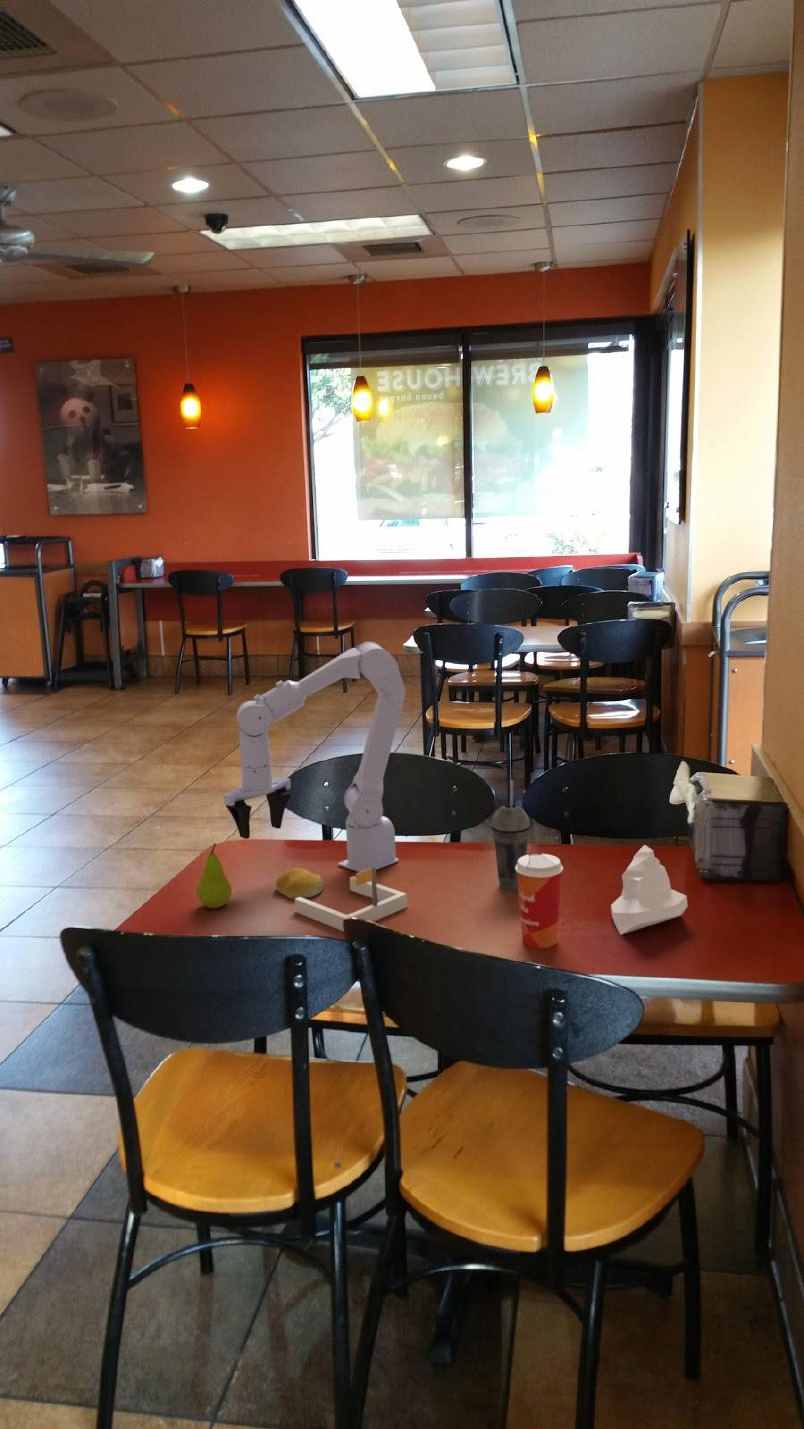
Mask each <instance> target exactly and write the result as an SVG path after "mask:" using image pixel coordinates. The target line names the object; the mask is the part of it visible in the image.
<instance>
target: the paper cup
mask: <svg viewBox="0 0 804 1429" xmlns="http://www.w3.org/2000/svg"><path fill="white" fill-rule="evenodd" d="M515 870H516V871H517V875H518V888H519V889H518V900H519V902H518V903H519V913H520V924H521V925H520V926H521V928H520V929H521V936H522V943H523V945H525V946H526V947H529V948H531V949H539V950H540V949H541V950H544V949H549V948H552V946H553V947H554V946H557V945H556V944H557V943H558V934H559V919H560V916H559V915H560V903H561V902H560V901H561V899H560V898H561V882H562V881H561V880H562V872H563V871H564V867H563V864H561V860H560V858H558V857H557V856H556V855H555V856H554V855H552V854H547V853H541V854H539V853H537V854H536V853H535V854H534V853H533V854H531V855H529V854H527V855H525V856H522V857H521V858H519V860H518V863H517V865H516V867H515Z"/></svg>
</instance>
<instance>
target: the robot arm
mask: <svg viewBox="0 0 804 1429" xmlns="http://www.w3.org/2000/svg"><path fill="white" fill-rule="evenodd" d="M360 673H361V674H362V675H363V676H364V677H365V678H366V679H367V680H369V681H370V683H371V686H373V688H374V690H375V691H376V692H377V700H376V703H375V706H374V710H373V715H372V718H371V722H370V725H369V726H370V727H369V730H368V734H367V738H366V741H365V745H364V748H363V754H362V755H361V756H362V758H361V760H360V764H359V768H358V771H357V773H356V774H355V775H354V777H353V780H352V783H351V785H350V786H349V787H348V789H346V791H345V793H344V796H343V802H344V803H343V804H344V806H345V808H346V809H347V810H348V811H349V813H348V815H347V817H346V819H345V833H346V836H345V837H346V852H347V859H346V860H345V859H344V860H343V861H340V862H338V866H340V867H343V868H346V869H348V870H352V871H355V872H357V873H359V872H361V871H364V870H367V869H369V868H371V867H373V866H374V867H376V870H379V869H383V868H385V867H387V866H390V865H392V864H395V863H398V862H399V861H400V860H399V858H398V857H397V856H396V855H397V853H396V831H395V828H394V827H395V826H394V824H393V823H392V820H390V819H389V818H388V817H386V816H385V815H383V814H384V808H383V801H382V799H383V796H384V777H385V773H386V768H387V765H388V761H389V759H390V758H389V757H390V755H391V751H392V747H393V743H394V740H395V735H396V730H397V729H398V724H399V720H400V716H401V713H402V709H403V705H404V701H405V697H406V688H405V684H404V682H403V679H402V675H401V672H400V669H399V664H398V662H397V661H396V660H395V658H394V657H393V656H392V654H390V652H389V651H388V650H386V649H384V648H383V647H382V646H381V645H379V644H378V643H376V642H373V641H365V642H362V643H361V644H359V645H358V646H356V647H353V648H350V649H347V650H346V651H345V652H343V653H341V654H340V655H338V656H336V657H335V658H333V659H332V660H330V661H329V662H327V663H326V664H324V665H322V666H321V667H319V668H317V669H316V670H314V671H313V672H311V673H310V674H308V675H306V676H304V677H303V678H302V679H300V680H299V681H293V680H290V679H288V680H286V681H284V682H283V680H279V681H277V682H276V683H275V685H276V686H275V687H274V688H271V689H270V690H269V691H267V692H265V693H263V694H262V695H259V694H256V695H255V696H254V697H253V699H254V700H248V701H245V702H243V703H242V704H240V706H239V708H238V709H237V712H236V715H235V719H236V721H237V723H238V727H239V733H238V736H239V739H240V740H239V757H240V768H241V770H240V771H241V783H242V784H241V786H240V787H238V788H236V789H234V790H232V791H230V792H228V793H224V794H223V803H224V805H225V807H226V808H227V810H228V811H229V813H230V815H231V816H232V818H233V820H234V822H235V825H236V827H237V831H238V835H239V836H240V838H242V839H246V840H248V839H250V837H251V836H250V835H251V831H250V830H251V828H250V826H251V825H250V819H251V818H250V816H251V811H252V805H249V804H247V802H245V801H249V800H252V799H255V798H258V797H262V796H266V797H265V798H266V799H267V803H268V808H269V818H270V825H271V827H272V828H275V829H281V828H282V824H283V823H282V822H283V817H284V813H285V810H286V807H287V805H288V802H289V800H291V796H292V794H291V791H290V790H291V787H292V786H291V785H292V783H291V778H286V777H281V778H276V779H273V773H272V772H273V771H272V770H273V768H272V757H271V742H270V739H269V728H270V726H271V723H272V724H273V723H277V722H278V721H280V720H282V719H283V718H286V717H287V716H288V715H291V714H292V713H294V712H295V711H297V710H300V709H301V708H303V707H304V704H305V701H306V699H307V697H308V696H310V695H312V694H315V693H316V692H318V691H320V690H322V689H324V688H326V687H328V686H329V685H332V684H333V683H336V682H337V681H339V680H341V679H343V678H345V679H346V678H347V679H354V680H355V679H356V680H359V679H361V675H360Z"/></svg>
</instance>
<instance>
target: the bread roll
mask: <svg viewBox="0 0 804 1429" xmlns="http://www.w3.org/2000/svg"><path fill="white" fill-rule="evenodd" d="M275 887H276V889H277V891H278V892H279V893H280V894H282V895H284V896H286V897H287V898H289V899H294V900H295V898H298V897H302V898H304V899H307V898H314V897H316V896H317V895H319V894H320V893H321V892H322V891H323V888H324V881H323V878H322V877H321V875H319V874H317V873H316V874H315V873H312V872H310V871H309V870H307V869H305V868H302V867H295V868H294V867H293V868H290V869H287V870H285V871H284V872H283V873H282V874H281V875H279V877H278V878H277V879H276V882H275ZM315 895H316V896H315Z"/></svg>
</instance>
